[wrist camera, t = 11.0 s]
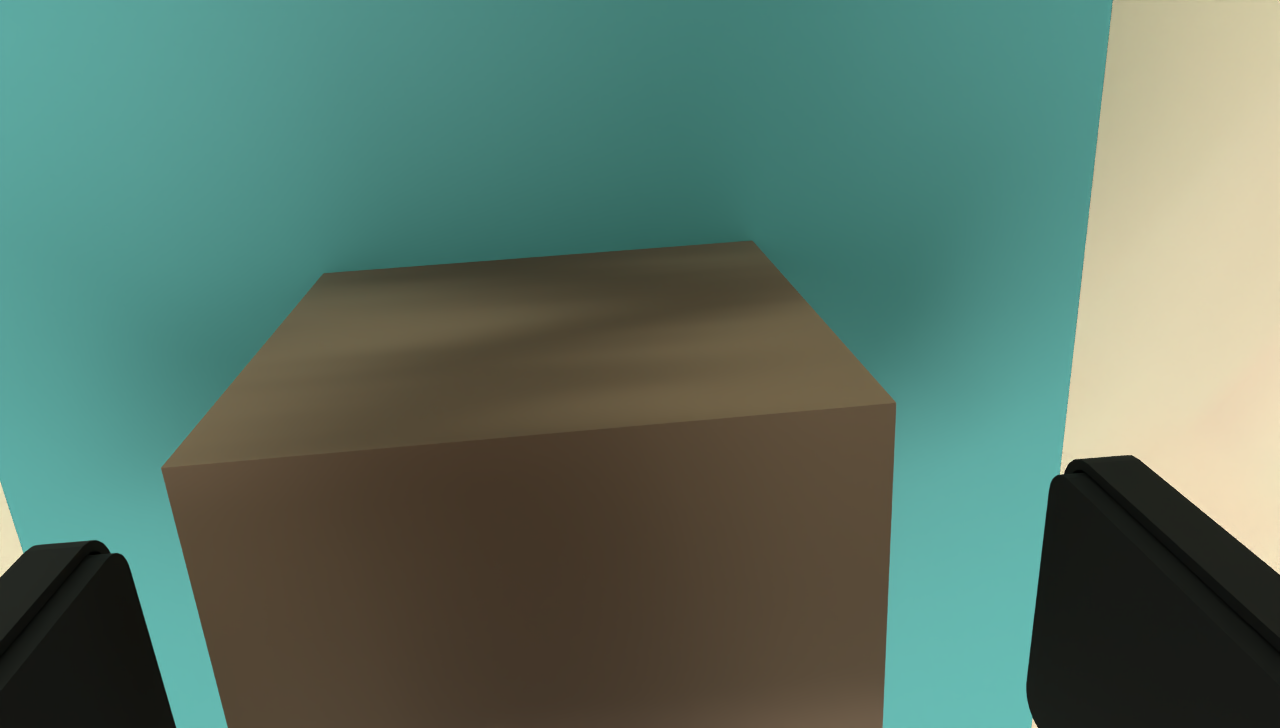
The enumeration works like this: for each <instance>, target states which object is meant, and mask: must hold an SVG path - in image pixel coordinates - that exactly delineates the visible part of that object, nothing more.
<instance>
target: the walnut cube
mask: <svg viewBox="0 0 1280 728" xmlns="http://www.w3.org/2000/svg"><path fill="white" fill-rule="evenodd" d="M895 425H896V402H895V401H894V400H893V398H892V397H891V396H890V395H889V394H888V393H887V392H886V391H885V389H884V388H883V387H882V386H881V385H880V384H879V383H878V382H877V380H876V379H875V378H874V377H873V376H872V375H871V374H870V373H869V371H868V370H867V369H866V368H865V367H864V366H863V365H862V363H861V362H860V361H859V360H858V359H857V358H856V357H855V356H854V354H853V353H852V352H851V351H850V350H849V349H848V348H847V347H846V345H845V344H844V343H843V342H842V341H841V340H840V339H839V338H838V336H837V335H836V334H835V333H834V332H833V331H832V330H831V329H830V327H829V326H828V325H827V324H826V323H825V322H824V321H823V320H822V318H821V317H820V316H819V315H818V314H817V313H816V312H815V310H814V309H813V308H812V307H811V306H810V305H809V304H808V303H807V301H806V300H805V299H804V298H803V297H802V296H801V295H800V294H799V292H798V291H797V290H796V289H795V288H794V287H793V286H792V285H791V283H790V282H789V281H788V280H787V279H786V278H785V277H784V276H783V274H782V273H781V272H780V271H779V270H778V269H777V268H776V266H775V265H774V264H773V263H772V262H771V261H770V260H769V259H768V257H767V256H766V255H765V254H764V253H763V252H762V251H761V250H760V248H759V247H758V246H757V245H756V244H755V243H754V242H753V241H740V242H727V243H714V244H701V245H687V246H674V247H661V248H648V249H635V250H622V251H609V252H596V253H583V254H569V255H556V256H543V257H530V258H517V259H504V260H491V261H478V262H464V263H451V264H438V265H425V266H412V267H399V268H386V269H373V270H359V271H346V272H333V273H323V274H322V276H321V277H320V278H319V279H318V280H317V282H316V283H315V284H314V285H313V286H312V288H311V289H310V290H309V291H308V292H307V294H306V295H305V296H304V297H303V298H302V300H301V301H300V302H299V303H298V304H297V305H296V307H295V308H294V309H293V310H292V311H291V313H290V314H289V315H288V316H287V317H286V319H285V320H284V321H283V322H282V323H281V325H280V326H279V327H278V328H277V329H276V331H275V332H274V333H273V334H272V335H271V337H270V338H269V339H268V340H267V341H266V343H265V344H264V345H263V346H262V347H261V349H260V350H259V351H258V352H257V353H256V355H255V356H254V357H253V358H252V359H251V361H250V362H249V363H248V364H247V365H246V367H245V368H244V369H243V370H242V371H241V373H240V374H239V375H238V376H237V377H236V379H235V380H234V381H233V382H232V383H231V385H230V386H229V387H228V388H227V389H226V391H225V392H224V393H223V394H222V395H221V397H220V398H219V399H218V400H217V401H216V403H215V404H214V405H213V406H212V407H211V409H210V410H209V411H208V412H207V413H206V415H205V416H204V417H203V418H202V419H201V420H200V422H199V423H198V424H197V425H196V426H195V428H194V429H193V430H192V431H191V432H190V434H189V435H188V436H187V437H186V438H185V440H184V441H183V442H182V443H181V444H180V446H179V447H178V448H177V449H176V450H175V452H174V453H173V454H172V455H171V456H170V458H169V459H168V460H167V461H166V462H165V464H164V465H163V466H162V467H161V471H162V474H163V478H164V482H165V486H166V490H167V494H168V498H169V502H170V506H171V509H172V513H173V517H174V521H175V525H176V529H177V533H178V537H179V540H180V544H181V548H182V552H183V556H184V560H185V564H186V568H187V572H188V575H189V579H190V583H191V587H192V591H193V595H194V599H195V603H196V606H197V610H198V614H199V618H200V622H201V626H202V630H203V634H204V638H205V641H206V645H207V649H208V653H209V657H210V661H211V665H212V669H213V672H214V676H215V680H216V684H217V688H218V692H219V696H220V700H221V703H222V707H223V711H224V715H225V719H226V723H227V727H228V728H883V708H884V684H885V661H886V637H887V614H888V590H889V566H890V543H891V519H892V496H893V472H894V448H895Z"/></svg>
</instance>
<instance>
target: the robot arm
mask: <svg viewBox="0 0 1280 728" xmlns="http://www.w3.org/2000/svg"><path fill="white" fill-rule="evenodd" d="M1026 694H1027V701H1028V705H1029V709H1030V712H1031V715H1032V718H1033V719H1034V721H1035V723H1036V725H1037V727H1038V728H1280V575H1279V574H1278V573H1277V572H1276V571H1274V570H1273V569H1272V568H1271V567H1270V566H1268V565H1267V564H1266V563H1265V562H1264V561H1262V560H1261V559H1260V558H1259V557H1257V556H1256V555H1255V554H1254V553H1253V552H1251V551H1250V550H1249V549H1248V548H1246V547H1245V546H1244V545H1243V544H1242V543H1240V542H1239V541H1238V540H1237V539H1235V538H1234V537H1233V536H1232V535H1231V534H1229V533H1228V532H1227V531H1226V530H1224V529H1223V528H1222V527H1221V526H1220V525H1218V524H1217V523H1216V522H1215V521H1213V520H1212V519H1211V518H1210V517H1209V516H1207V515H1206V514H1205V513H1204V512H1202V511H1201V510H1200V509H1199V508H1198V507H1196V506H1195V505H1194V504H1193V503H1192V502H1190V501H1189V500H1188V499H1187V498H1185V497H1184V496H1183V495H1182V494H1181V493H1179V492H1178V491H1177V490H1176V489H1174V488H1173V487H1172V486H1171V485H1170V484H1168V483H1167V482H1166V481H1165V480H1163V479H1162V478H1161V477H1160V476H1159V475H1157V474H1156V473H1155V472H1154V471H1152V470H1151V469H1150V468H1149V467H1148V466H1146V465H1145V464H1144V463H1143V462H1141V461H1140V460H1139V459H1137V458H1135V457H1134V456H1132V455H1124V456H1111V457H1099V458H1087V459H1075V460H1073V461H1072V462H1070V463H1069V464H1068V466H1067V468H1066V470H1065V473H1064V474H1062V475H1057V476H1055V477H1054V478H1053V479H1052V481H1051V483H1050V488H1049V493H1048V502H1047V510H1046V519H1045V527H1044V536H1043V544H1042V553H1041V561H1040V570H1039V578H1038V587H1037V596H1036V604H1035V613H1034V621H1033V630H1032V638H1031V647H1030V655H1029V664H1028V672H1027V681H1026ZM0 728H176V725H175V721H174V718H173V714H172V711H171V708H170V704H169V701H168V697H167V694H166V690H165V687H164V683H163V680H162V676H161V673H160V670H159V666H158V663H157V659H156V656H155V652H154V649H153V645H152V642H151V639H150V635H149V632H148V628H147V625H146V621H145V618H144V614H143V611H142V608H141V604H140V601H139V597H138V594H137V590H136V587H135V583H134V580H133V577H132V573H131V570H130V567H129V564H128V562H127V560H126V559H125V557H124V556H123V555H122V554H119V553H110V551H109V549H108V548H107V547H106V545H105V544H104V543H102V542H100V541H98V540H89V541H77V542H65V543H53V544H41V545H34V546H32V547H31V548H29V549H28V550H27V551H25V552H24V553H23V554H22V556H21V557H20V558H19V559H18V560H17V561H16V562H15V563H14V564H13V565H12V566H11V567H10V568H9V569H8V570H7V571H6V572H5V573H4V574H3V575H2V576H1V577H0Z"/></svg>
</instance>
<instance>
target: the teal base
mask: <svg viewBox="0 0 1280 728" xmlns="http://www.w3.org/2000/svg"><path fill="white" fill-rule="evenodd" d="M1112 2H1113V0H0V482H1V485H2V488H3V491H4V494H5V497H6V500H7V503H8V506H9V510H10V513H11V516H12V519H13V522H14V525H15V528H16V531H17V534H18V537H19V540H20V544H21V547H22V550H23V553H24V552H25V551H27V550H28V549H29V548H31V547H32V546H34V545H41V544H53V543H65V542H77V541H89V540H98V541H100V542H102V543H104V544H105V545H106V547H107V548H108V549H109V551H110V553H119V554H122V555H123V556H124V557H125V559H126V560H127V562H128V564H129V567H130V570H131V573H132V577H133V580H134V583H135V587H136V590H137V594H138V597H139V601H140V604H141V608H142V611H143V614H144V618H145V621H146V625H147V628H148V632H149V635H150V639H151V642H152V645H153V649H154V652H155V656H156V659H157V663H158V666H159V670H160V673H161V676H162V680H163V683H164V687H165V690H166V694H167V697H168V701H169V704H170V708H171V711H172V714H173V718H174V721H175V725H176V728H228V727H227V723H226V719H225V715H224V711H223V707H222V703H221V700H220V696H219V692H218V688H217V684H216V680H215V676H214V672H213V669H212V665H211V661H210V657H209V653H208V649H207V645H206V641H205V638H204V634H203V630H202V626H201V622H200V618H199V614H198V610H197V606H196V603H195V599H194V595H193V591H192V587H191V583H190V579H189V575H188V572H187V568H186V564H185V560H184V556H183V552H182V548H181V544H180V540H179V537H178V533H177V529H176V525H175V521H174V517H173V513H172V509H171V506H170V502H169V498H168V494H167V490H166V486H165V482H164V478H163V474H162V471H161V467H162V466H163V465H164V464H165V462H166V461H167V460H168V459H169V458H170V456H171V455H172V454H173V453H174V452H175V450H176V449H177V448H178V447H179V446H180V444H181V443H182V442H183V441H184V440H185V438H186V437H187V436H188V435H189V434H190V432H191V431H192V430H193V429H194V428H195V426H196V425H197V424H198V423H199V422H200V420H201V419H202V418H203V417H204V416H205V415H206V413H207V412H208V411H209V410H210V409H211V407H212V406H213V405H214V404H215V403H216V401H217V400H218V399H219V398H220V397H221V395H222V394H223V393H224V392H225V391H226V389H227V388H228V387H229V386H230V385H231V383H232V382H233V381H234V380H235V379H236V377H237V376H238V375H239V374H240V373H241V371H242V370H243V369H244V368H245V367H246V365H247V364H248V363H249V362H250V361H251V359H252V358H253V357H254V356H255V355H256V353H257V352H258V351H259V350H260V349H261V347H262V346H263V345H264V344H265V343H266V341H267V340H268V339H269V338H270V337H271V335H272V334H273V333H274V332H275V331H276V329H277V328H278V327H279V326H280V325H281V323H282V322H283V321H284V320H285V319H286V317H287V316H288V315H289V314H290V313H291V311H292V310H293V309H294V308H295V307H296V305H297V304H298V303H299V302H300V301H301V300H302V298H303V297H304V296H305V295H306V294H307V292H308V291H309V290H310V289H311V288H312V286H313V285H314V284H315V283H316V282H317V280H318V279H319V278H320V277H321V276H322V274H323V273H333V272H346V271H359V270H373V269H386V268H399V267H412V266H425V265H438V264H451V263H464V262H478V261H491V260H504V259H517V258H530V257H543V256H556V255H569V254H583V253H596V252H609V251H622V250H635V249H648V248H661V247H674V246H687V245H701V244H714V243H727V242H740V241H753V242H754V243H755V244H756V245H757V246H758V247H759V248H760V250H761V251H762V252H763V253H764V254H765V255H766V256H767V257H768V259H769V260H770V261H771V262H772V263H773V264H774V265H775V266H776V268H777V269H778V270H779V271H780V272H781V273H782V274H783V276H784V277H785V278H786V279H787V280H788V281H789V282H790V283H791V285H792V286H793V287H794V288H795V289H796V290H797V291H798V292H799V294H800V295H801V296H802V297H803V298H804V299H805V300H806V301H807V303H808V304H809V305H810V306H811V307H812V308H813V309H814V310H815V312H816V313H817V314H818V315H819V316H820V317H821V318H822V320H823V321H824V322H825V323H826V324H827V325H828V326H829V327H830V329H831V330H832V331H833V332H834V333H835V334H836V335H837V336H838V338H839V339H840V340H841V341H842V342H843V343H844V344H845V345H846V347H847V348H848V349H849V350H850V351H851V352H852V353H853V354H854V356H855V357H856V358H857V359H858V360H859V361H860V362H861V363H862V365H863V366H864V367H865V368H866V369H867V370H868V371H869V373H870V374H871V375H872V376H873V377H874V378H875V379H876V380H877V382H878V383H879V384H880V385H881V386H882V387H883V388H884V389H885V391H886V392H887V393H888V394H889V395H890V396H891V397H892V398H893V400H894V401H895V402H896V425H895V448H894V472H893V496H892V519H891V543H890V566H889V590H888V614H887V637H886V661H885V684H884V708H883V728H1031V725H1032V715H1031V712H1030V709H1029V705H1028V701H1027V694H1026V681H1027V672H1028V664H1029V655H1030V647H1031V638H1032V630H1033V621H1034V613H1035V604H1036V596H1037V587H1038V578H1039V570H1040V561H1041V553H1042V544H1043V536H1044V527H1045V519H1046V510H1047V502H1048V493H1049V488H1050V483H1051V481H1052V479H1053V478H1054V477H1055V476H1057V475H1060V466H1061V457H1062V448H1063V440H1064V431H1065V422H1066V413H1067V404H1068V395H1069V386H1070V377H1071V368H1072V359H1073V350H1074V341H1075V332H1076V323H1077V314H1078V305H1079V297H1080V288H1081V279H1082V270H1083V261H1084V252H1085V243H1086V234H1087V225H1088V216H1089V207H1090V198H1091V189H1092V180H1093V171H1094V163H1095V154H1096V145H1097V136H1098V127H1099V118H1100V109H1101V100H1102V91H1103V82H1104V73H1105V64H1106V55H1107V46H1108V37H1109V29H1110V20H1111V11H1112Z"/></svg>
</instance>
